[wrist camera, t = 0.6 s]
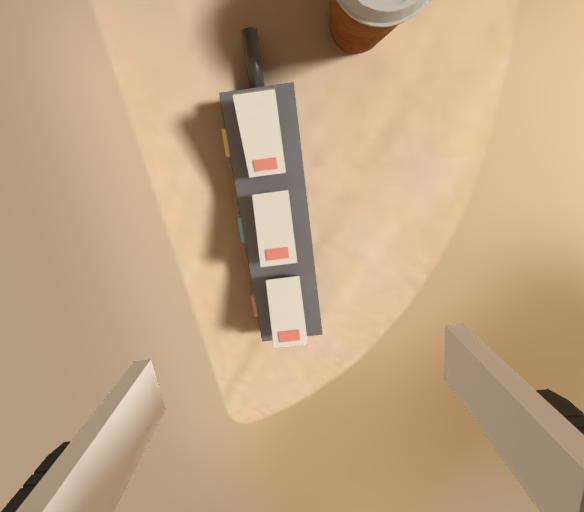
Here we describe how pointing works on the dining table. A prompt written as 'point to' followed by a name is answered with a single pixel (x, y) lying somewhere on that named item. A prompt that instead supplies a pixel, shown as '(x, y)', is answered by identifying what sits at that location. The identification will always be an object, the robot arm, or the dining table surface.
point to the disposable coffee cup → (368, 20)
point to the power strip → (272, 183)
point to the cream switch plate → (274, 228)
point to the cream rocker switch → (286, 312)
